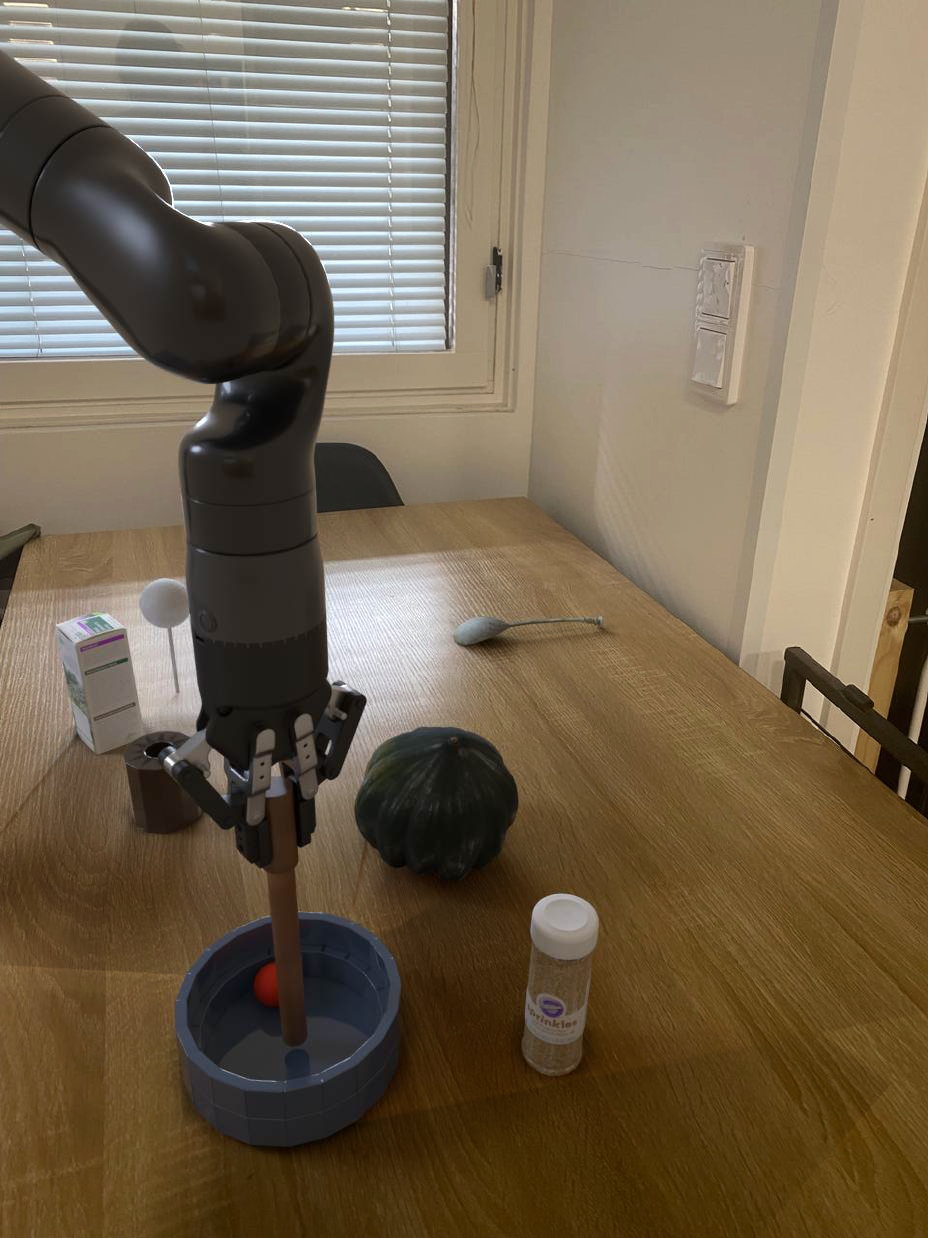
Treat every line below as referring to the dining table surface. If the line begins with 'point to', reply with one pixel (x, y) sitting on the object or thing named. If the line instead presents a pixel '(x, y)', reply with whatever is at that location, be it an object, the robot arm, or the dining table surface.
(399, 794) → the squash
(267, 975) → the cherry tomato
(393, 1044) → the bowl
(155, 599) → the lollipop
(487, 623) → the soupspoon
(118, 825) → the dining table surface
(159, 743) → the crock
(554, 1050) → the sprinkles bottle
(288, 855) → the stirring stick
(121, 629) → the syrup box
